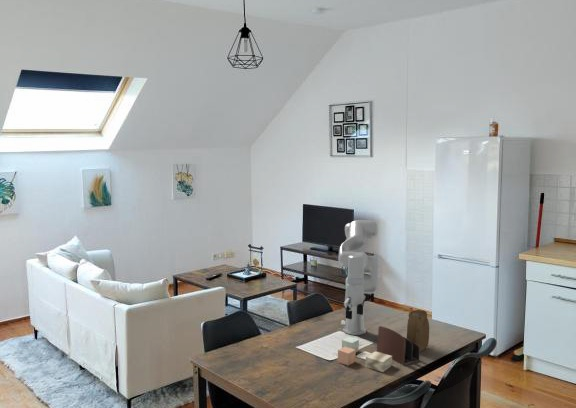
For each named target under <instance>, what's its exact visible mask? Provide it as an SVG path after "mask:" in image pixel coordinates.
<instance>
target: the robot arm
mask: <svg viewBox="0 0 576 408" xmlns="http://www.w3.org/2000/svg"><path fill="white" fill-rule="evenodd" d="M378 231H379V226H378V224H377V222H376V221H375V220H369V219H366V220H364V219H356V220H353V221H351V222H348V223H346V224H345V226H344V235H345V237H346V239H345V241H343V242H342V243H341V244H340V246H339V249H338V258H337V259H338V265H339V266H341V267H343V268H347V277H346V278H345V294H344V295H345V296H344V302H343V306H344V310H345V320H344V319H342V320H341V321H340V326H343V327H342V332H343V333H345V334H347V335H351V336H361V335H364V334H366V333H367V329H366V328H365V327H364V319H365V318H364V315H365V302H366V301H365V300H366V295H365V294H375V293H377V292H378V288H379V260H378V257H376V256H375V255H368V254H367V253H366V252H365V248H366V247H365V245H366V240H374V239H376V237H377V236H378ZM365 274H367V275H365Z"/></svg>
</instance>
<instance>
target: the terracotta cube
mask: <svg viewBox="0 0 576 408" xmlns="http://www.w3.org/2000/svg"><path fill="white" fill-rule="evenodd" d="M356 353H357V352H356V350H355V349H352V348H348V347H343V348H342V347H341V348H339V349H338V350H337V363H338V364H339V363H340V364H341V365H345V366H350V365H353V364H354V363H355V362H356V356H357V355H356Z"/></svg>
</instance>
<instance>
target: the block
mask: <svg viewBox="0 0 576 408" xmlns="http://www.w3.org/2000/svg"><path fill="white" fill-rule="evenodd" d="M406 328H407V329H406V338H407V339H409V340H410V341H412V342H414V343H415V344H417V345H418V346H419V353H422V352H424V351H425V350H427V348H428V345H429V341H430V323H429V319H428V312H427V311H425V310H424V309H423V310H422V309H414V310H411V311H409V312H408V319H407V326H406Z"/></svg>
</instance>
